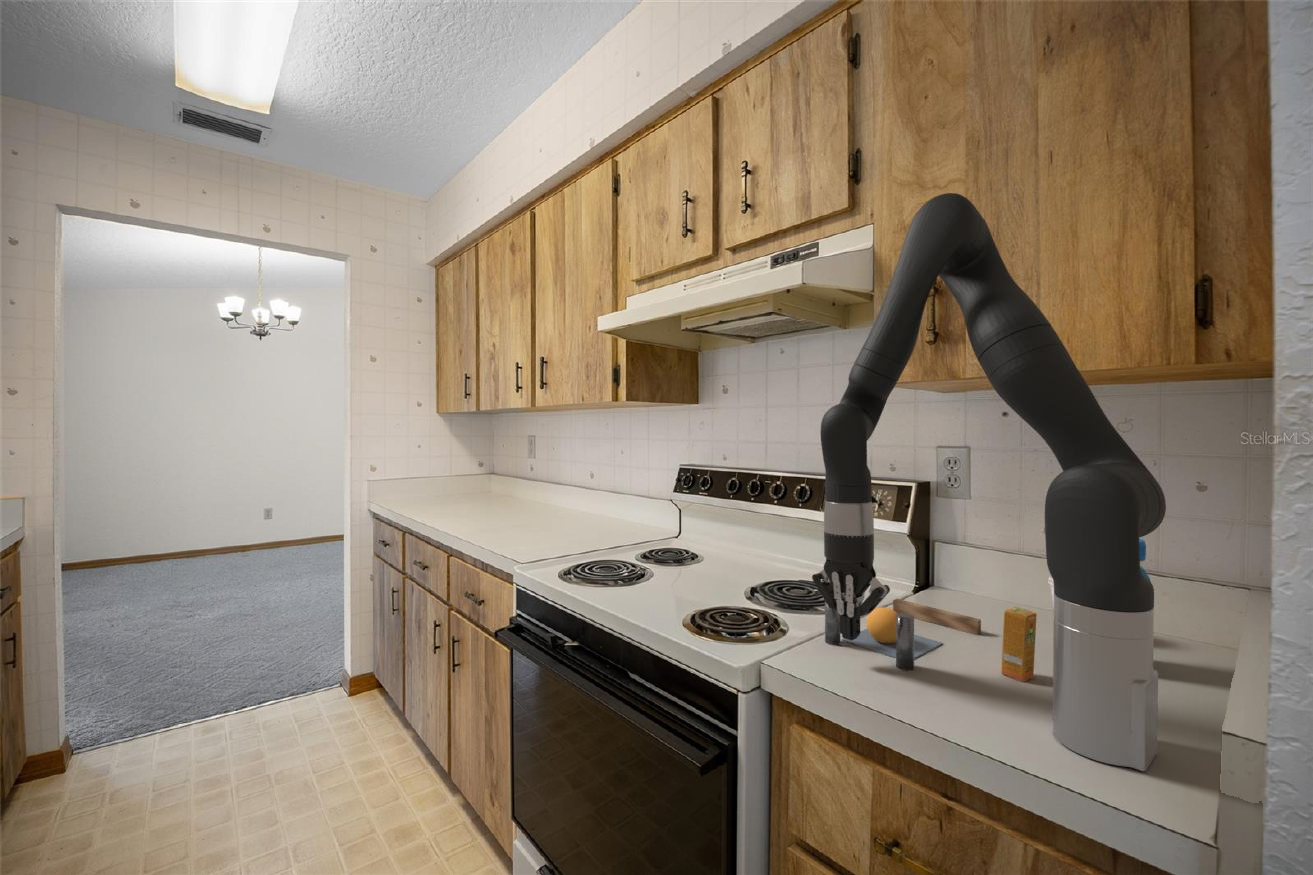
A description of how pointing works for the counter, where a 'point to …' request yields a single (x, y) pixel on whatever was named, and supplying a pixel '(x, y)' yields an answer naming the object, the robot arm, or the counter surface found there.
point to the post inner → (905, 641)
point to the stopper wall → (938, 616)
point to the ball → (882, 625)
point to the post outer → (832, 626)
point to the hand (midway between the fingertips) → (849, 638)
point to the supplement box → (1018, 643)
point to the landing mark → (893, 644)
